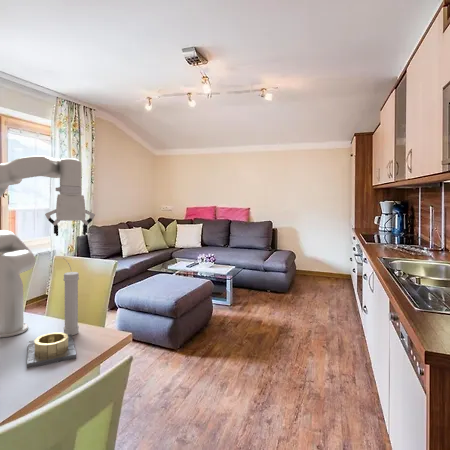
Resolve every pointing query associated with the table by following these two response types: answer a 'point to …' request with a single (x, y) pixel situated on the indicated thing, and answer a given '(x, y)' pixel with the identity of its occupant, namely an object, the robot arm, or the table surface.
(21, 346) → the table surface
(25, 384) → the table surface
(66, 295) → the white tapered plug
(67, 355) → the fitting base
